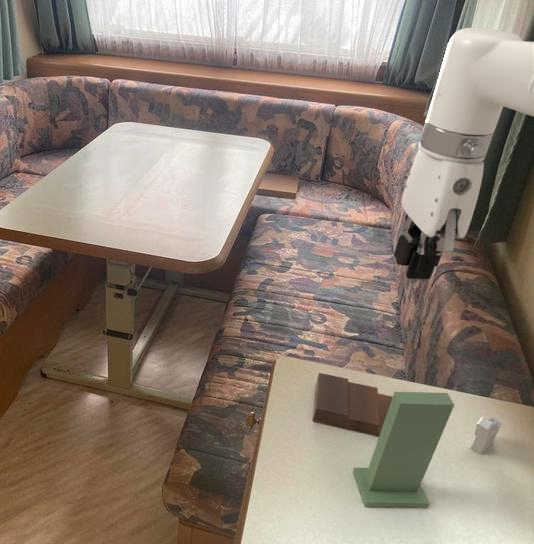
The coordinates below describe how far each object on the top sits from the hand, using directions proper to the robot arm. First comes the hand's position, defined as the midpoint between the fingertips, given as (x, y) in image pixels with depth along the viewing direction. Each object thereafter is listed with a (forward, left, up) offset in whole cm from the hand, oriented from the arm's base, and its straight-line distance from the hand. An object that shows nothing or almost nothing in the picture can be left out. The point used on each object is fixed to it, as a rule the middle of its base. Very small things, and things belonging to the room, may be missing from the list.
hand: (412, 269), depth 79 cm
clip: (0, 0, +1) cm, 1 cm away
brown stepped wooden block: (+1, -2, -29) cm, 30 cm away
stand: (-7, +11, -29) cm, 32 cm away
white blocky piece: (-17, -5, -30) cm, 34 cm away
